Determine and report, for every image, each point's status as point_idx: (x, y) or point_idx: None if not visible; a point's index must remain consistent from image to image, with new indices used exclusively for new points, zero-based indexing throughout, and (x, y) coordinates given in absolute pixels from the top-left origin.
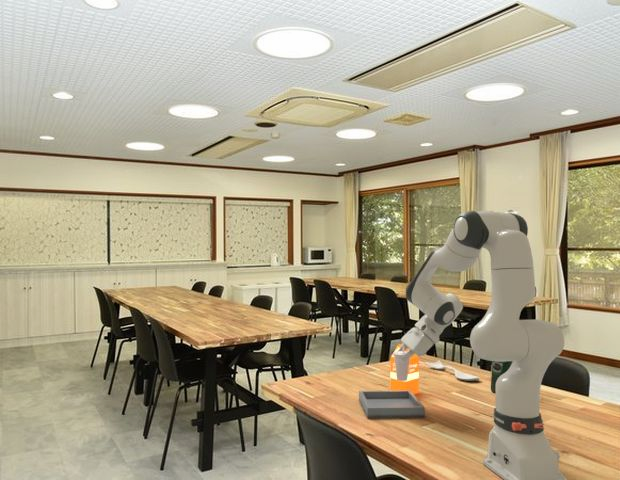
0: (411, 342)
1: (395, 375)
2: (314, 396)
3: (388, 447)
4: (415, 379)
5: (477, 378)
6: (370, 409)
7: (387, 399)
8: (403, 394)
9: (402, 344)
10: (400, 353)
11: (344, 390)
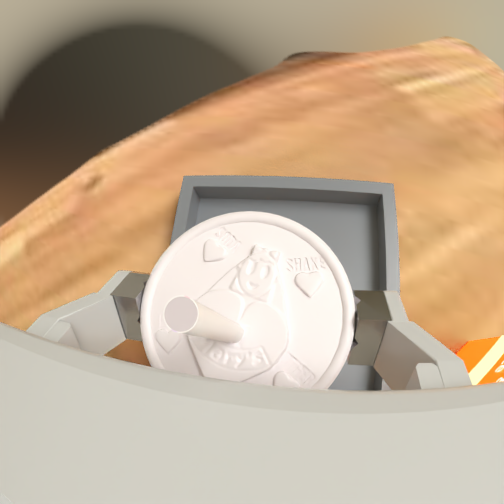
0: (23, 403)
1: (493, 356)
2: (407, 93)
3: (32, 212)
4: None
5: None
6: (182, 187)
7: None
8: (378, 375)
9: (457, 376)
10: (214, 286)
11: (479, 180)
